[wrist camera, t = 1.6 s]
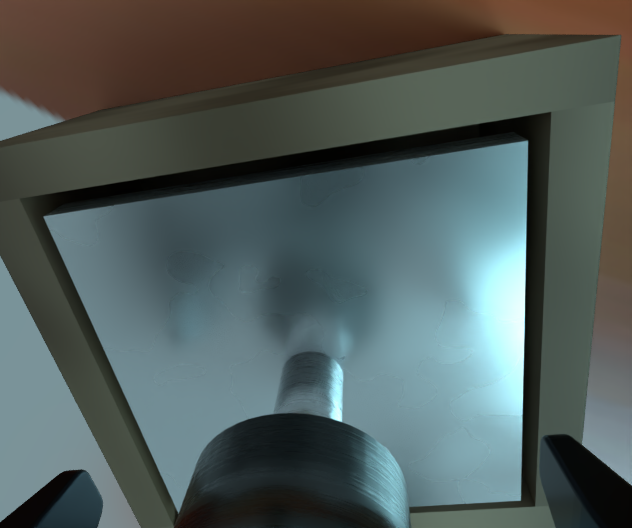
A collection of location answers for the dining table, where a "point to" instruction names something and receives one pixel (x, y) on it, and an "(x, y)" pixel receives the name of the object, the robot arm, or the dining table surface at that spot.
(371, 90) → the frame
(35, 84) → the dining table surface
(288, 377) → the plunger
